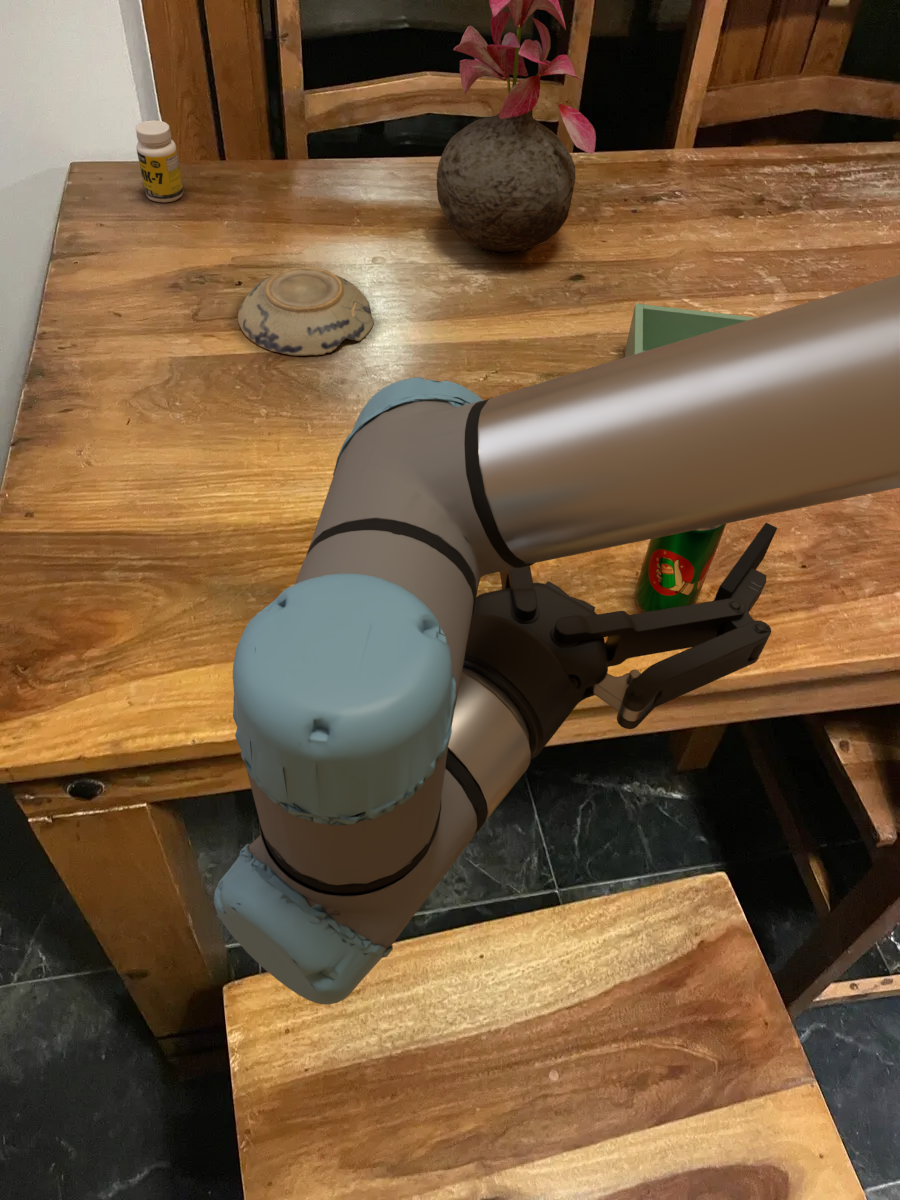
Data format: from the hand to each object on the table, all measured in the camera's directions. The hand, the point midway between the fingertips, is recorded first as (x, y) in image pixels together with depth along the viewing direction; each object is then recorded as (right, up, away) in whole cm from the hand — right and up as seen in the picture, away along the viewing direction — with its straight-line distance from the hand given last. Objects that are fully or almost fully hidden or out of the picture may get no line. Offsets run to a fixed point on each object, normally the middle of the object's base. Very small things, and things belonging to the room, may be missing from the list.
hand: (666, 491), depth 59 cm
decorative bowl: (-30, +24, +44) cm, 58 cm away
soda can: (+4, -7, +19) cm, 21 cm away
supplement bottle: (-50, +45, +60) cm, 90 cm away
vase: (-7, +38, +56) cm, 68 cm away
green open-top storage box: (+12, +14, +37) cm, 41 cm away
